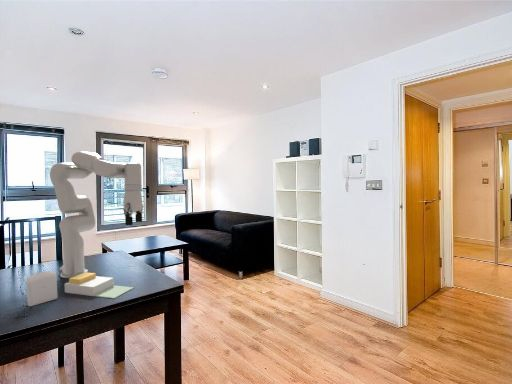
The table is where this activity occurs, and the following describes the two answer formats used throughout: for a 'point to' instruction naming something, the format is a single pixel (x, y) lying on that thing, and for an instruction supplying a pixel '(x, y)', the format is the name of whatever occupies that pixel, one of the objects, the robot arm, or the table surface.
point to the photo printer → (41, 288)
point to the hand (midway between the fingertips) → (134, 223)
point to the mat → (114, 292)
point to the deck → (90, 286)
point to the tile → (82, 278)
